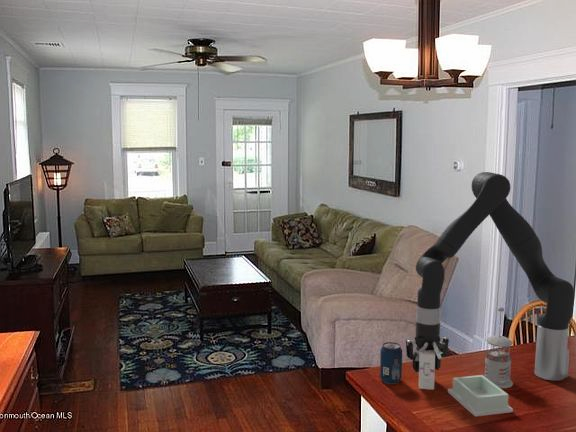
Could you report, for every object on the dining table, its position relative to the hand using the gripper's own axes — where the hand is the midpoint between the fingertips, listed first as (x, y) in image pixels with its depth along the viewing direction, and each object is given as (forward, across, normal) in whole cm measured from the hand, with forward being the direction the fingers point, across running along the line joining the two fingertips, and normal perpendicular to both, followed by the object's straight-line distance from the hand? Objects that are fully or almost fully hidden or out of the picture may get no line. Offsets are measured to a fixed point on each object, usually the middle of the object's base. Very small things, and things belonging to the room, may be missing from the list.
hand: (426, 370), depth 186 cm
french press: (+5, -24, +3) cm, 25 cm away
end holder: (+5, -10, +15) cm, 19 cm away
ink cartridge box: (+5, 0, 0) cm, 5 cm away
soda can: (+5, +10, -5) cm, 12 cm away
